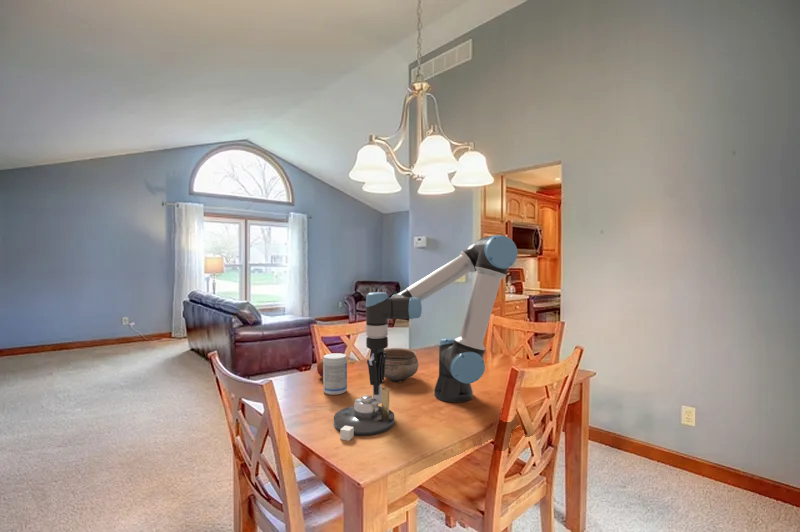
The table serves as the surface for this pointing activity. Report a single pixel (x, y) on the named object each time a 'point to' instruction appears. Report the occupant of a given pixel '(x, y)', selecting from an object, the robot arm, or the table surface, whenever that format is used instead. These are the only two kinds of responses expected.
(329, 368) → the supplement tub
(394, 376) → the cooking pot
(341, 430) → the white cube
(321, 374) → the fruit
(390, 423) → the turntable
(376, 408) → the cover
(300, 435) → the table surface
